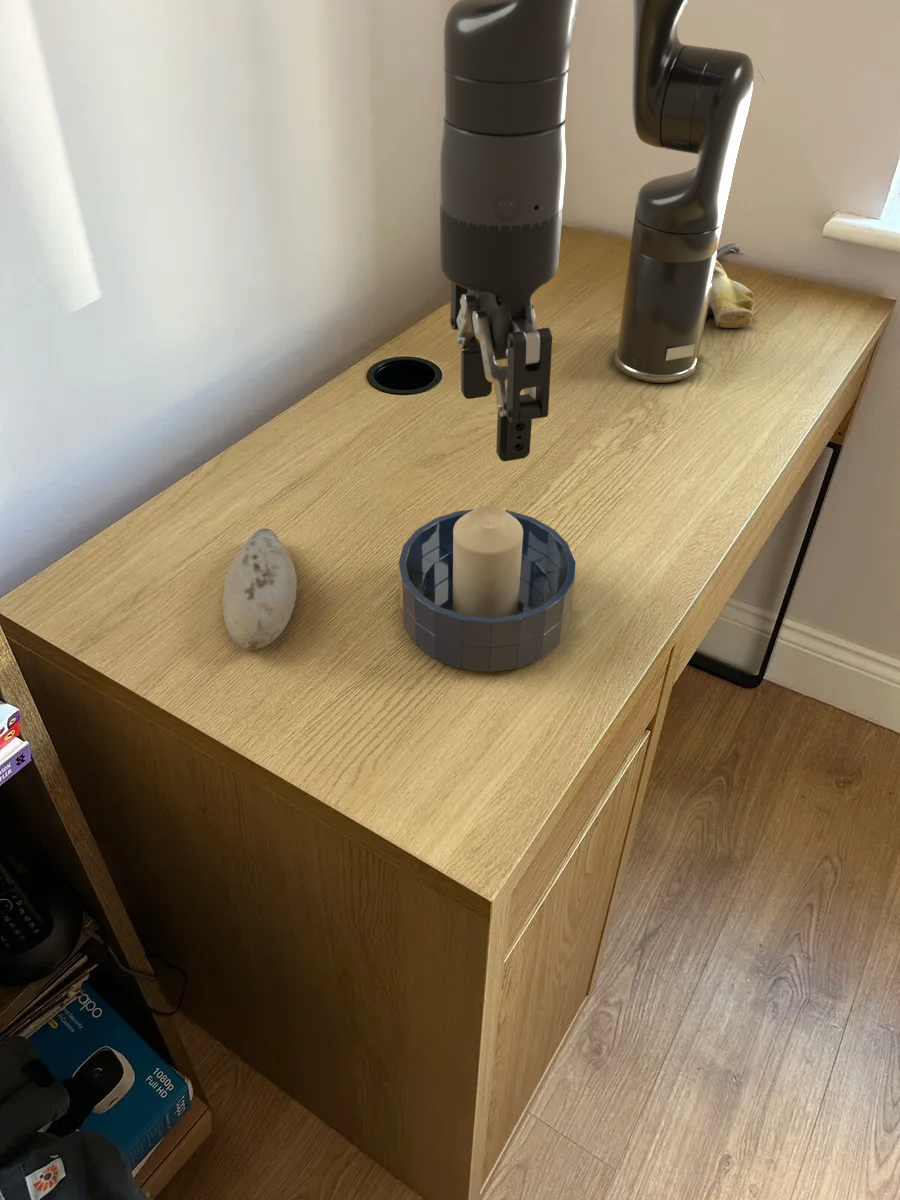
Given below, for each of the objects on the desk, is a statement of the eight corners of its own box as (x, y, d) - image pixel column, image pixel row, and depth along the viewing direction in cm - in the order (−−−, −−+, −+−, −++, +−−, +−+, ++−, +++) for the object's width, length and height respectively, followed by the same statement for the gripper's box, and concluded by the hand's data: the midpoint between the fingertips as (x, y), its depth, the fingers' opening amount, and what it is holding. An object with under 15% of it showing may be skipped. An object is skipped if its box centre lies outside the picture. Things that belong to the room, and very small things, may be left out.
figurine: (769, 311, 119) (736, 246, 129) (735, 297, 117) (703, 231, 127) (742, 344, 123) (712, 278, 132) (709, 330, 121) (680, 264, 130)
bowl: (480, 541, 89) (482, 488, 85) (602, 614, 82) (611, 560, 78) (367, 616, 82) (363, 562, 78) (490, 704, 75) (493, 649, 71)
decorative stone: (298, 541, 89) (294, 512, 87) (298, 661, 78) (294, 630, 76) (231, 546, 89) (226, 517, 86) (221, 667, 77) (214, 637, 75)
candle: (512, 636, 79) (518, 542, 72) (446, 627, 80) (446, 532, 73) (522, 592, 83) (528, 499, 76) (459, 584, 84) (460, 490, 77)
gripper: (604, 235, 54) (578, 471, 65) (521, 152, 64) (511, 370, 75) (477, 250, 53) (472, 490, 64) (412, 163, 63) (418, 383, 74)
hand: (493, 424), depth 70 cm, fingers open, 8 cm apart
